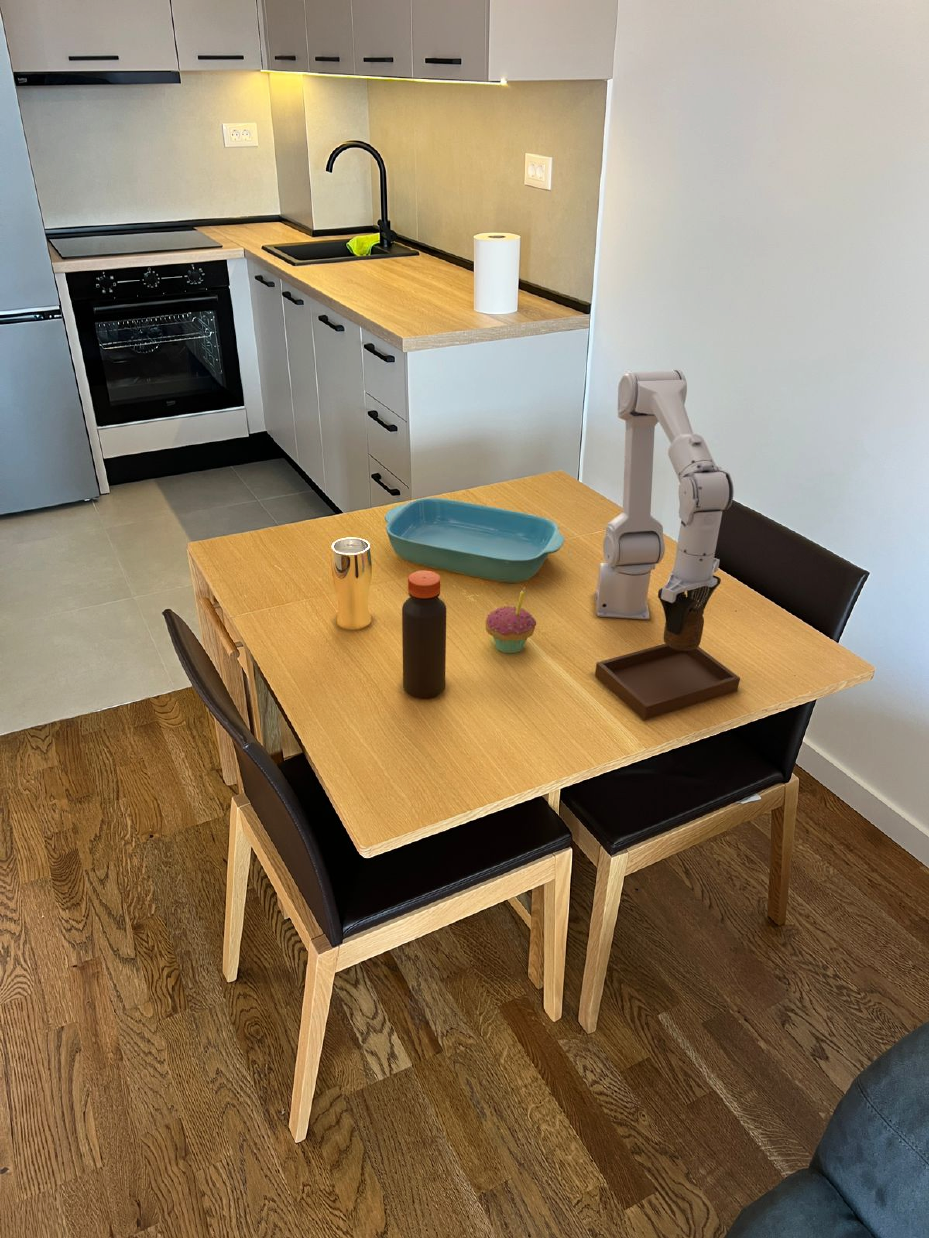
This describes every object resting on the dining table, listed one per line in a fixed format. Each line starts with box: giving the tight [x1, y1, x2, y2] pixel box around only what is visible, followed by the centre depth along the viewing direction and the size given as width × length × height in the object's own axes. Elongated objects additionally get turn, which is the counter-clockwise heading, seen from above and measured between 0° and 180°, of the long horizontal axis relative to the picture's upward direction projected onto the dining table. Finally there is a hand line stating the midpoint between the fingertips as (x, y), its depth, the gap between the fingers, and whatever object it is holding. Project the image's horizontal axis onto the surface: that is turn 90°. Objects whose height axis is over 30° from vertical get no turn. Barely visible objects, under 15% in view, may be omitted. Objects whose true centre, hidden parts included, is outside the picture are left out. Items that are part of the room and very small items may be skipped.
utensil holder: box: [663, 588, 709, 651], centre depth 148 cm, size 6×6×12 cm
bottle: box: [401, 570, 447, 700], centre depth 146 cm, size 7×7×20 cm
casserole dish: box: [384, 497, 565, 584], centre depth 189 cm, size 37×22×7 cm, turn 70°
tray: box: [594, 642, 741, 721], centre depth 153 cm, size 19×14×3 cm
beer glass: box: [330, 537, 373, 631], centre depth 164 cm, size 7×7×15 cm
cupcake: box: [485, 587, 537, 654], centre depth 159 cm, size 9×8×12 cm
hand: (683, 624), depth 149 cm, fingers closed on utensil holder, 6 cm apart
